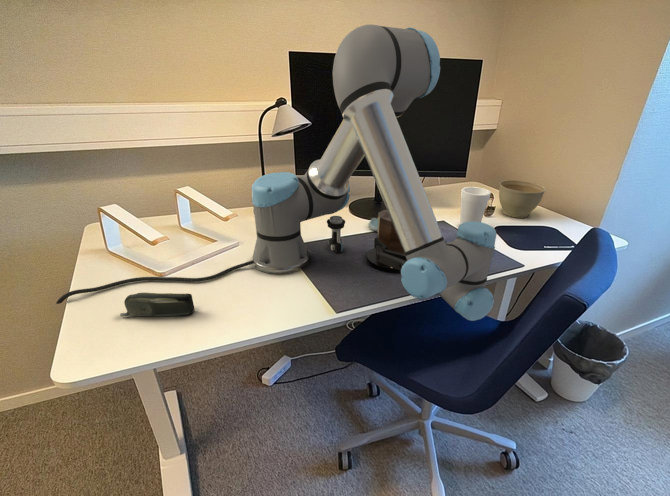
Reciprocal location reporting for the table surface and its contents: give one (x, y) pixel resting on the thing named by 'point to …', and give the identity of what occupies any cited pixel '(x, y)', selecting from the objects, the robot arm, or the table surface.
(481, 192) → the foam cup
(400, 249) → the pen carousel
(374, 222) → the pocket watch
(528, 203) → the planter bowl
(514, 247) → the table surface
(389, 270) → the base
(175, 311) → the dark green rounded block
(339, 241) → the push button
